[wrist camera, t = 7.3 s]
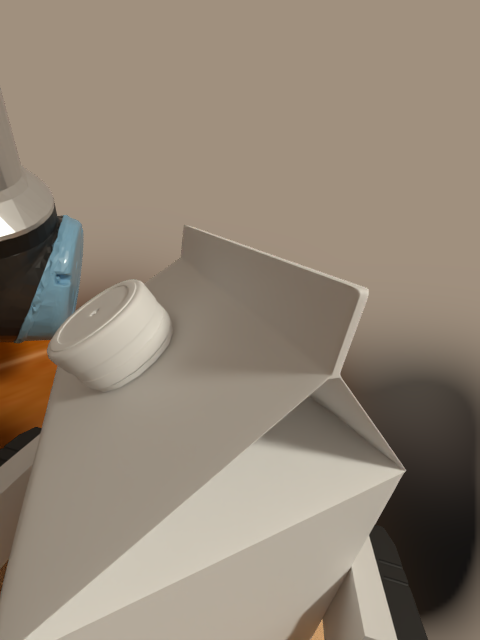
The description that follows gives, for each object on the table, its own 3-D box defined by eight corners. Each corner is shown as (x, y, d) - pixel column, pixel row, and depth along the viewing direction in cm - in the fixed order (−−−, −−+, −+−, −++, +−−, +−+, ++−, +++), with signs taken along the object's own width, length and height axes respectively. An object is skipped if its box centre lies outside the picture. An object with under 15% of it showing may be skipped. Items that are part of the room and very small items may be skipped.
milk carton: (209, 541, 17) (275, 240, 10) (265, 723, 11) (504, 299, 4) (80, 597, 13) (53, 202, 7) (64, 899, 8) (-210, 248, 1)
